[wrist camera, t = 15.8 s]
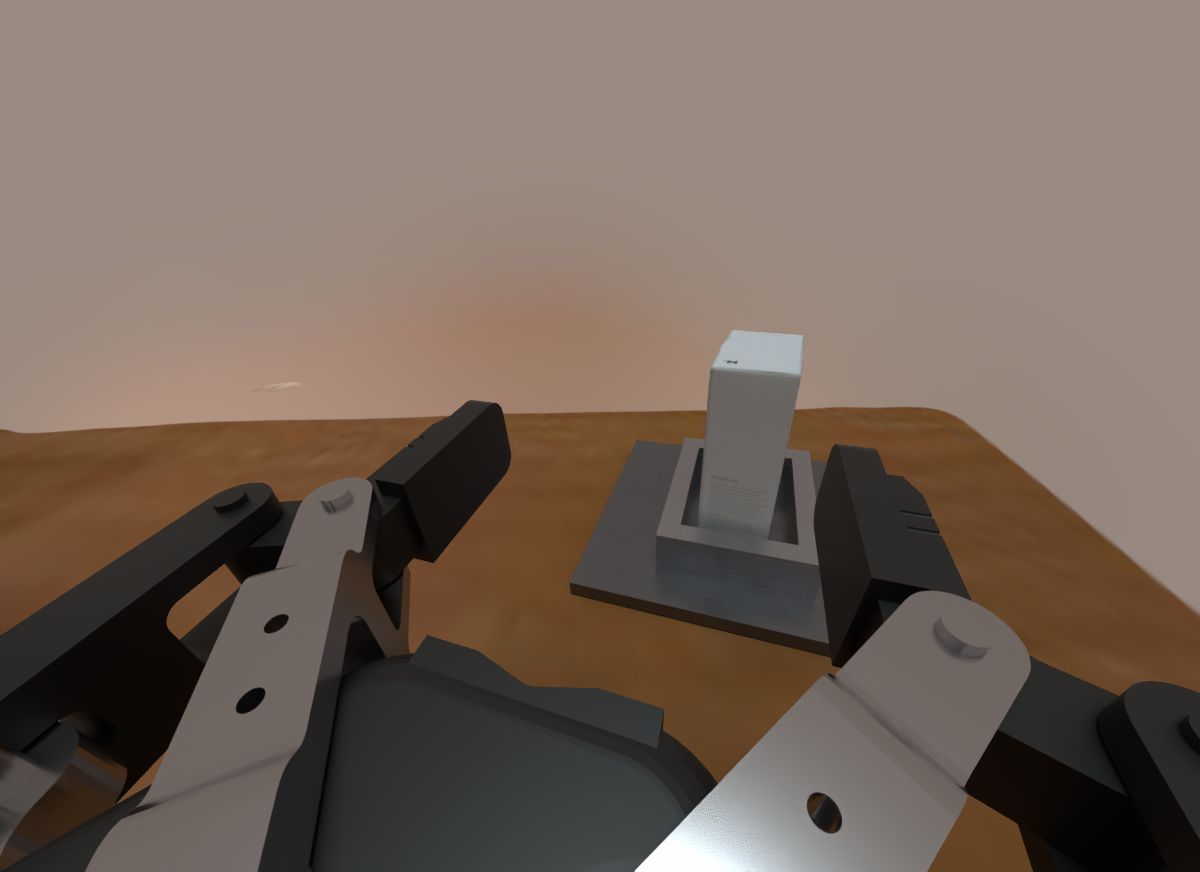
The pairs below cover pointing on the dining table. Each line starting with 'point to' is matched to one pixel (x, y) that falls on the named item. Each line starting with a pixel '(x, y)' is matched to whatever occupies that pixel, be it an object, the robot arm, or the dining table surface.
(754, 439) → the skincare box
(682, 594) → the grey box holder
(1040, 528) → the dining table surface
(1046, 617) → the dining table surface
